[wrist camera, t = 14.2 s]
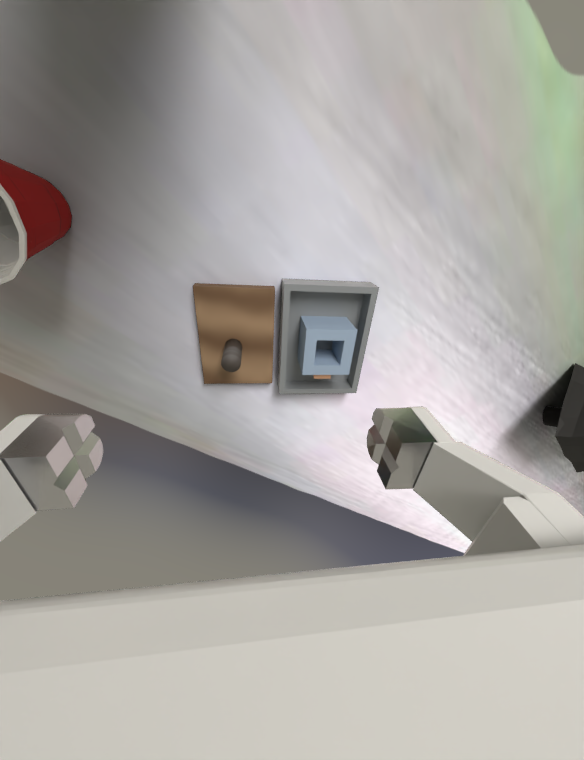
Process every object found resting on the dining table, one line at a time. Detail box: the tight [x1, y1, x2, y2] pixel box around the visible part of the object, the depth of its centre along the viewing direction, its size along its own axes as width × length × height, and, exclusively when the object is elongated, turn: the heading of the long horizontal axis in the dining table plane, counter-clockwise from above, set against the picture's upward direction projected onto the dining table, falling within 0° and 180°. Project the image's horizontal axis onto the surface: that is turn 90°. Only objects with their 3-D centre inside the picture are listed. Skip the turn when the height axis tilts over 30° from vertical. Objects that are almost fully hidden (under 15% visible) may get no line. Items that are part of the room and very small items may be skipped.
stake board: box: [193, 283, 275, 384], centre depth 37 cm, size 14×10×6 cm
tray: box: [278, 279, 379, 394], centre depth 40 cm, size 16×12×3 cm
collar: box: [297, 316, 357, 379], centre depth 39 cm, size 8×6×5 cm
